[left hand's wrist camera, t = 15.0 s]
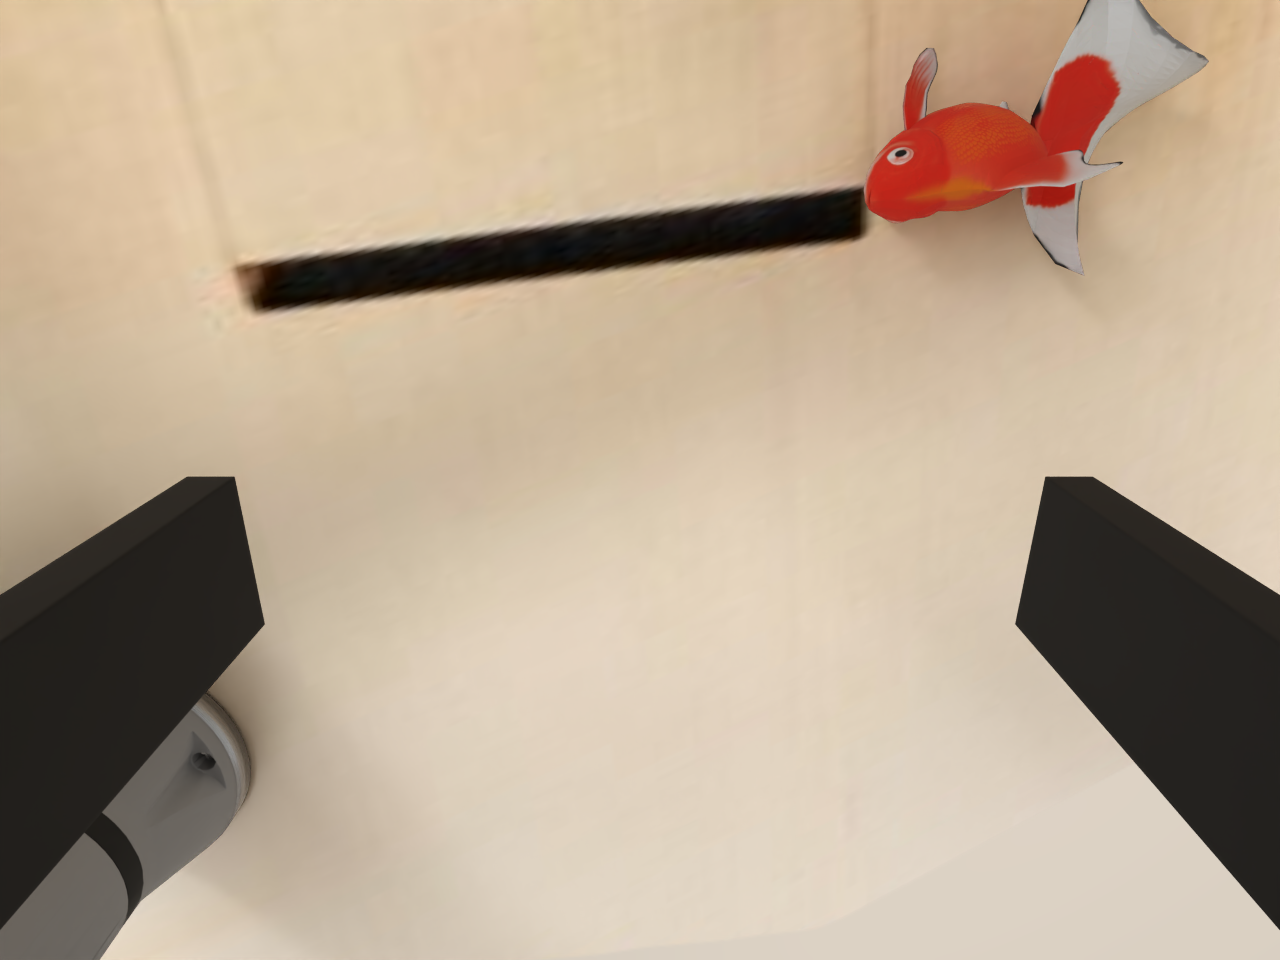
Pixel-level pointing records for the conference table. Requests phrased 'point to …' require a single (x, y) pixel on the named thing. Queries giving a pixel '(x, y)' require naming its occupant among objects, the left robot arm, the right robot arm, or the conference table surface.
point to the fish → (1030, 129)
